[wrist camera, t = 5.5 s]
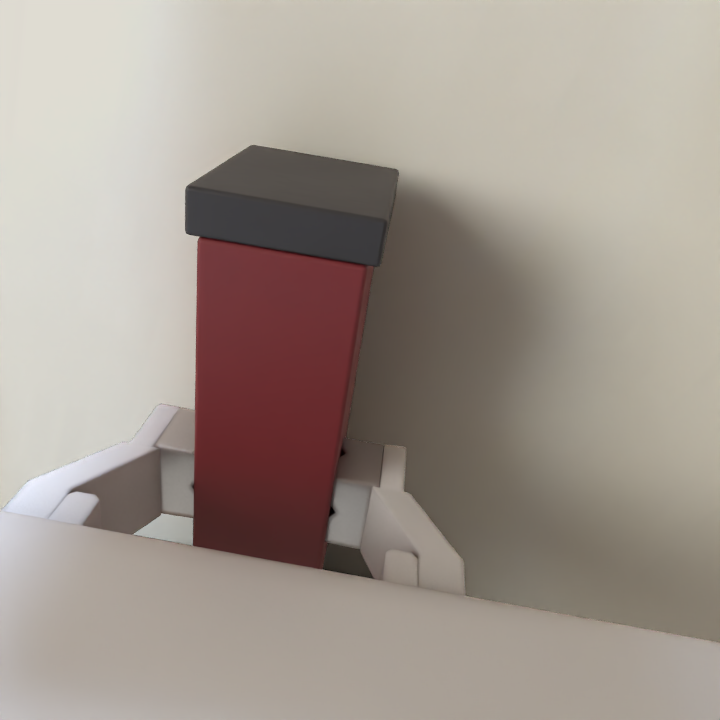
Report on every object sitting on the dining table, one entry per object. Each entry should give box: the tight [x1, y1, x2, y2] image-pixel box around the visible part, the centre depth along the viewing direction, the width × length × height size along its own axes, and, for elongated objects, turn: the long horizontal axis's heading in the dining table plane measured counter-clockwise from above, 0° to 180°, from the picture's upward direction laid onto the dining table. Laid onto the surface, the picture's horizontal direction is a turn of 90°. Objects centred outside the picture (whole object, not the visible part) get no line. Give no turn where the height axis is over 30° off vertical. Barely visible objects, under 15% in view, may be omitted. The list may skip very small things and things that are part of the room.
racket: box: [185, 145, 399, 569], centre depth 17 cm, size 24×12×4 cm, turn 172°
